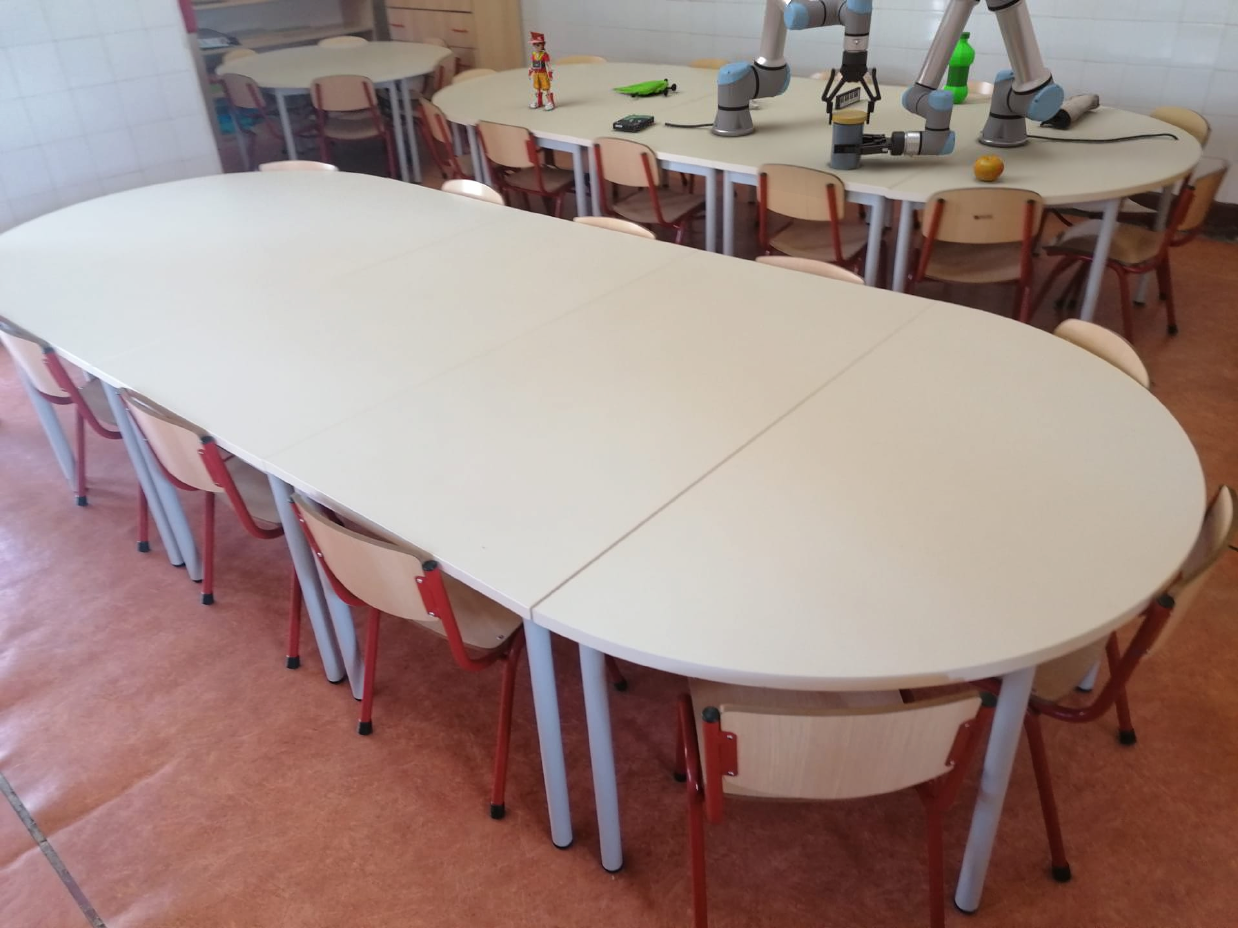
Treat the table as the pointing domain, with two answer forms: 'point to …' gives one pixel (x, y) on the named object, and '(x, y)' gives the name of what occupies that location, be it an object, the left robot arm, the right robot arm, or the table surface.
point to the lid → (849, 116)
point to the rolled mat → (1073, 110)
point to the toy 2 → (648, 88)
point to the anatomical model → (752, 104)
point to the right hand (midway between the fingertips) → (833, 144)
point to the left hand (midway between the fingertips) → (848, 123)
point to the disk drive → (633, 123)
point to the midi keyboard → (847, 97)
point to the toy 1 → (541, 71)
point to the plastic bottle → (960, 68)
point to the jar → (846, 136)
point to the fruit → (988, 168)
